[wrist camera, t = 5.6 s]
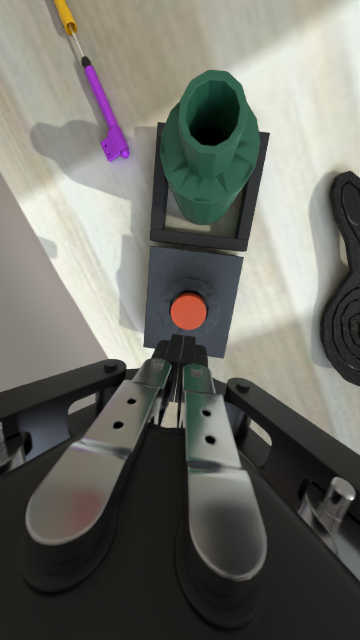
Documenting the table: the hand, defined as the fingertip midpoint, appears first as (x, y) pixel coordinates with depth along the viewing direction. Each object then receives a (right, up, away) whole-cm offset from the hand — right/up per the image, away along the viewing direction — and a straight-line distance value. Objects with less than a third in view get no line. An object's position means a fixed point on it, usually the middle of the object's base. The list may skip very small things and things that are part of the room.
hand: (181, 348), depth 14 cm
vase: (+3, +16, +11) cm, 20 cm away
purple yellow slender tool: (-6, +19, +10) cm, 22 cm away
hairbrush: (+21, +6, +13) cm, 25 cm away
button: (+1, +3, +10) cm, 10 cm away
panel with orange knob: (+1, +5, +15) cm, 16 cm away
